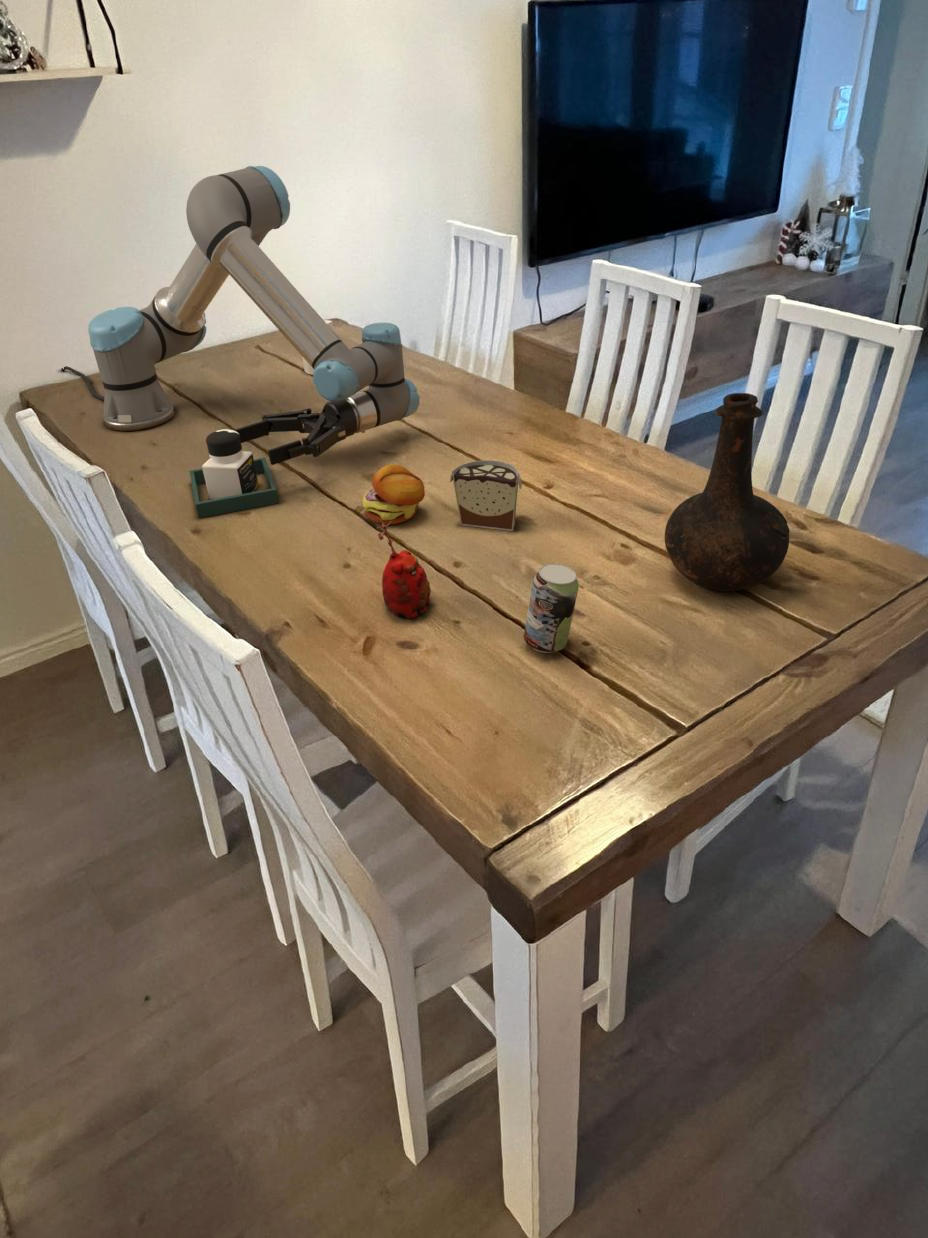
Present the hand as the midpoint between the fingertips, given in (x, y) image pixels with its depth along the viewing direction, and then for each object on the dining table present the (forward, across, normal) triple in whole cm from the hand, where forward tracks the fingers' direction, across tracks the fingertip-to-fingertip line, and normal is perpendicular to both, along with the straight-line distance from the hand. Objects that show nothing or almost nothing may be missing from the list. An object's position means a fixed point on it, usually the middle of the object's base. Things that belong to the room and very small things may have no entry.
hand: (252, 447), depth 169 cm
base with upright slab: (-44, +50, -8) cm, 67 cm away
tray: (+5, 0, -8) cm, 9 cm away
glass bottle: (-36, -80, -8) cm, 89 cm away
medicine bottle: (+5, 0, -8) cm, 10 cm away
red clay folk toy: (+4, -55, -8) cm, 55 cm away
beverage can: (-5, -76, -8) cm, 77 cm away
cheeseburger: (-12, -29, -8) cm, 32 cm away
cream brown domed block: (-23, -42, -8) cm, 49 cm away
